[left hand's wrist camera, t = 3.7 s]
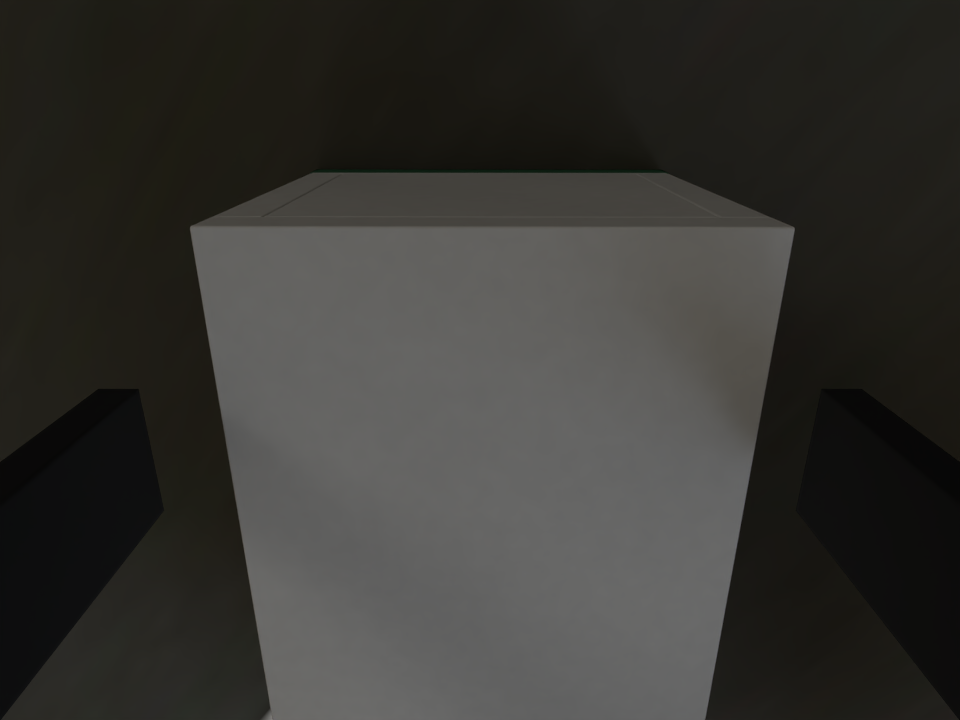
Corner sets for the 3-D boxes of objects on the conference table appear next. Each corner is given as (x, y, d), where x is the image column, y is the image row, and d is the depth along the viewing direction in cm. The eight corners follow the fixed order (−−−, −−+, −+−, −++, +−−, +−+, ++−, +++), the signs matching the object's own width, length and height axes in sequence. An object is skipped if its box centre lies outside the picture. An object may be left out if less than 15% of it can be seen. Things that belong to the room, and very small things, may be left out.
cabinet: (616, 615, 28) (679, 867, 19) (357, 613, 28) (295, 864, 19) (661, 169, 21) (797, 226, 12) (317, 169, 21) (187, 225, 12)
